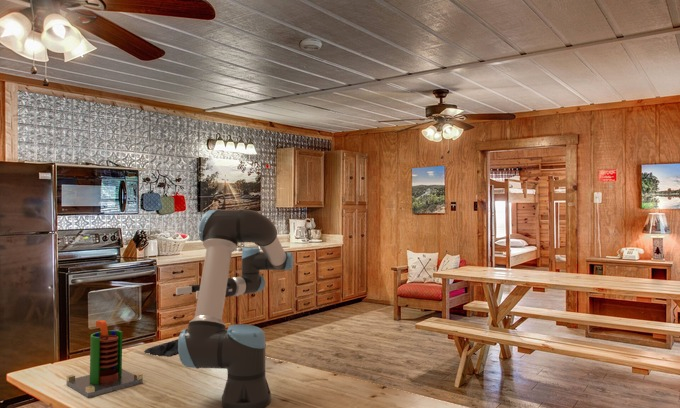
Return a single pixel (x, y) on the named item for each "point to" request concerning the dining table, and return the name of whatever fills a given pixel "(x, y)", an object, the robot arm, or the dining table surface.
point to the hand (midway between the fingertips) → (186, 293)
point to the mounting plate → (103, 384)
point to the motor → (105, 354)
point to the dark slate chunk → (164, 349)
